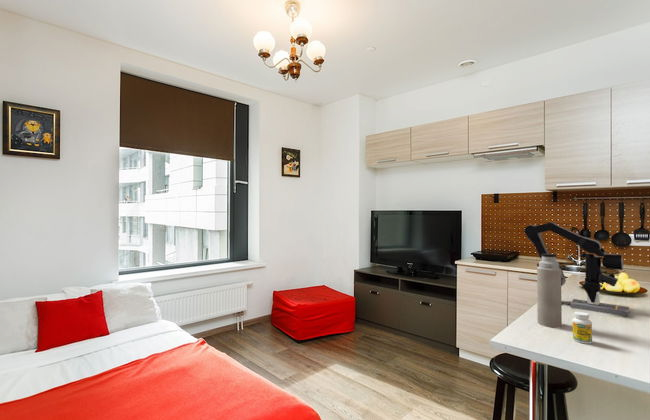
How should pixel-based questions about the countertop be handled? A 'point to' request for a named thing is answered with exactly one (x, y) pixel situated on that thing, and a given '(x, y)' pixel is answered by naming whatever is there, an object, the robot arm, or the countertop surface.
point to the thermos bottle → (549, 292)
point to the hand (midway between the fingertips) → (593, 301)
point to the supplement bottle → (582, 328)
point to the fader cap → (597, 299)
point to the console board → (600, 307)
